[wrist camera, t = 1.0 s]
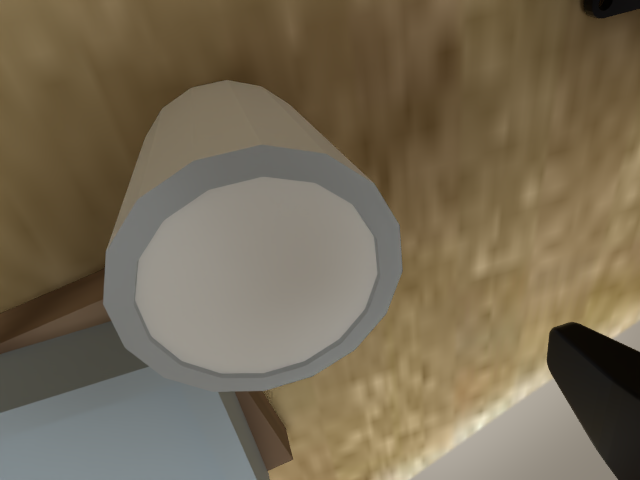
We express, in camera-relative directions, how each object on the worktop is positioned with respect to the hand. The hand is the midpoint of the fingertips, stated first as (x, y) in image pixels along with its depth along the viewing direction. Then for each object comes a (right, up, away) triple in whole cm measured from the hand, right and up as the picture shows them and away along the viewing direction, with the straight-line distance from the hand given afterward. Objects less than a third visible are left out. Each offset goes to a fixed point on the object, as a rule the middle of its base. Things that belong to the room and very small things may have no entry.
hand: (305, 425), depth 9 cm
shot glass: (-3, +6, +9) cm, 11 cm away
